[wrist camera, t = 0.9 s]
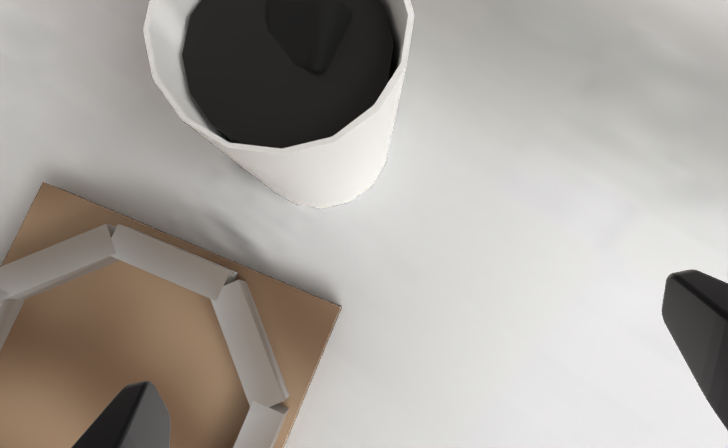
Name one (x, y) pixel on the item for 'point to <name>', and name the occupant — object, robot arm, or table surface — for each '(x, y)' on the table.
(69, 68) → the table surface
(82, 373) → the ring board
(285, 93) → the white cup
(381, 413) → the table surface
